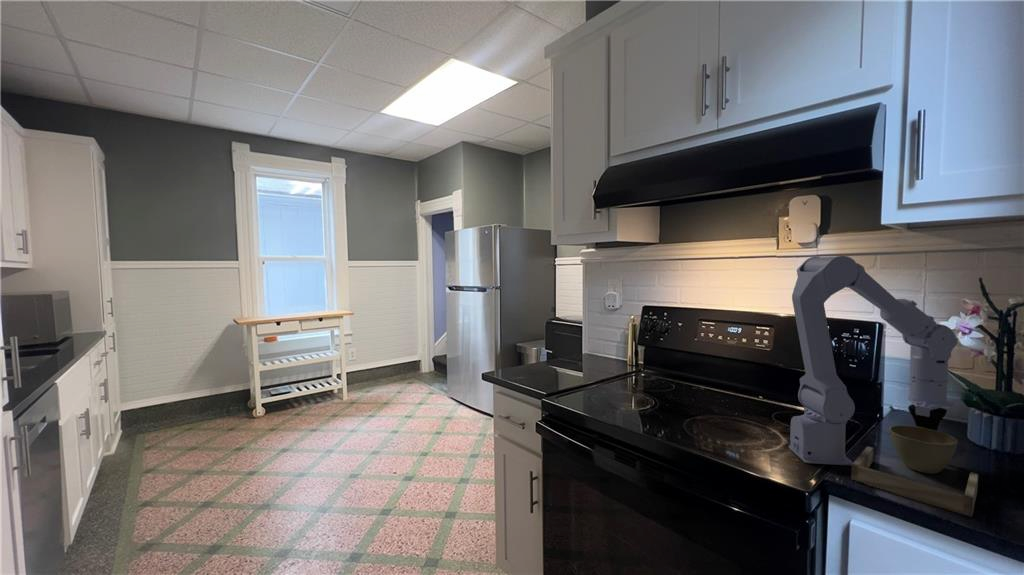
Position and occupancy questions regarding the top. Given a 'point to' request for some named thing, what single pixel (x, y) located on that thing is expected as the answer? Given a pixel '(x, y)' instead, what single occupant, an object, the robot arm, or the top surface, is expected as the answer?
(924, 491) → the frame
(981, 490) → the top surface
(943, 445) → the yellow bowl
